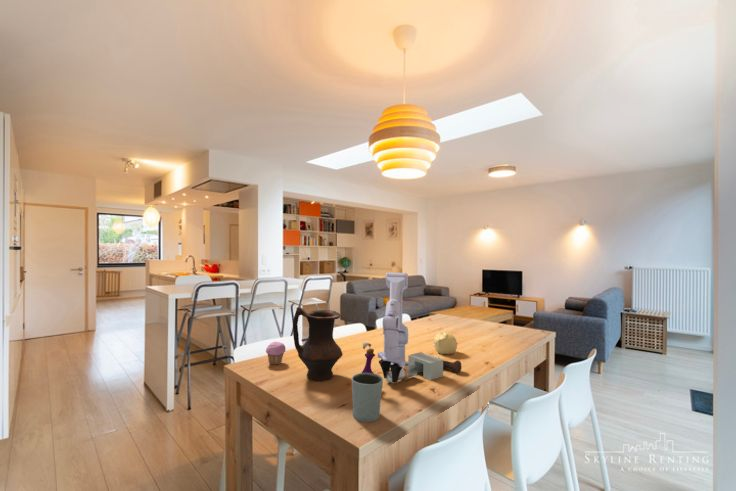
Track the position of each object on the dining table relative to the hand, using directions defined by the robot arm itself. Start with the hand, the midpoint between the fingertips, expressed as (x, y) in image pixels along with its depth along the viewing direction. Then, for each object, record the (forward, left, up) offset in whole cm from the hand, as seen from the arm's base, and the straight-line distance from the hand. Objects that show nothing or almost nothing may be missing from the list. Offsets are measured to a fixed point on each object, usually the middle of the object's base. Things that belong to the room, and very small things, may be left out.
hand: (390, 379), depth 134 cm
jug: (-24, -20, -2) cm, 31 cm away
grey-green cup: (+15, -23, -2) cm, 28 cm away
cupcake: (-50, -28, -2) cm, 57 cm away
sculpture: (-15, +51, -2) cm, 53 cm away
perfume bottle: (-1, -11, -2) cm, 11 cm away
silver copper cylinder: (0, +6, -1) cm, 6 cm away
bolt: (+1, +31, -2) cm, 31 cm away
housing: (0, +20, -2) cm, 20 cm away
